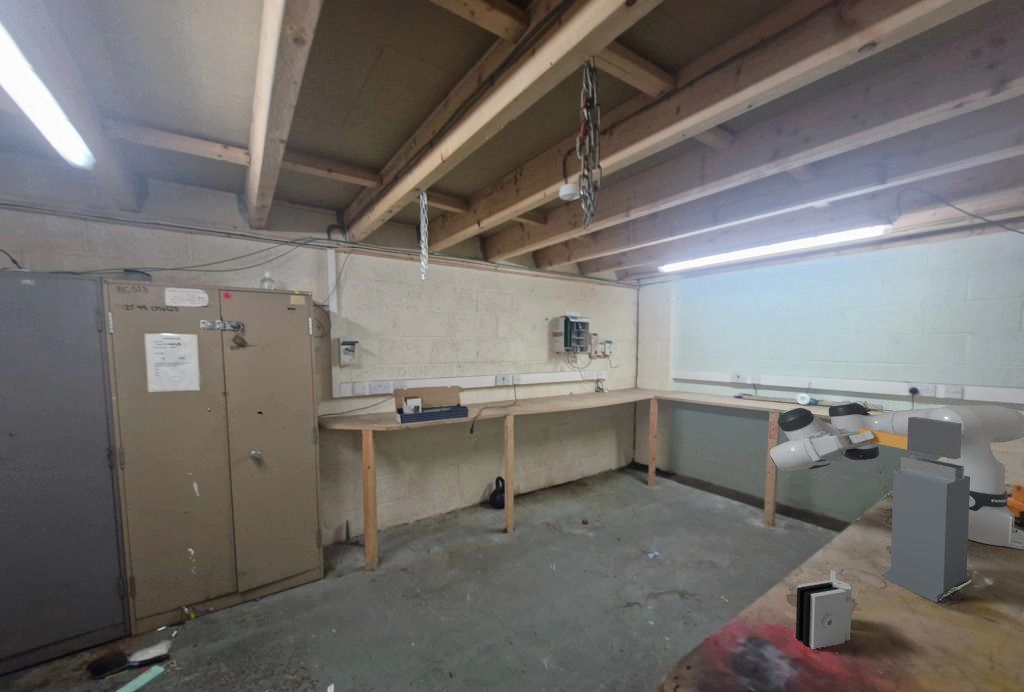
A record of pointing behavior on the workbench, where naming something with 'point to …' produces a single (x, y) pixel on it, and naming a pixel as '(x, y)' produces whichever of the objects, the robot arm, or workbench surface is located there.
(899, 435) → the bar
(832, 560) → the workbench surface
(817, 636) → the hinge
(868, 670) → the workbench surface
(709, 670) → the workbench surface
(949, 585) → the stand
